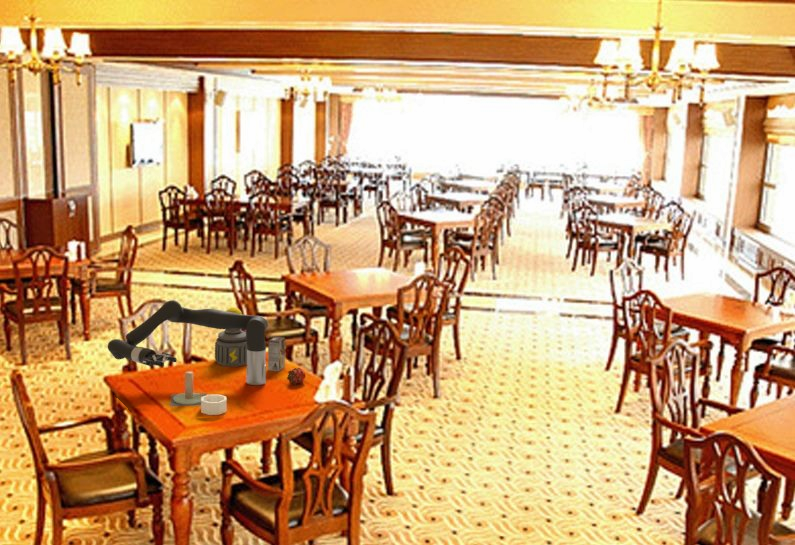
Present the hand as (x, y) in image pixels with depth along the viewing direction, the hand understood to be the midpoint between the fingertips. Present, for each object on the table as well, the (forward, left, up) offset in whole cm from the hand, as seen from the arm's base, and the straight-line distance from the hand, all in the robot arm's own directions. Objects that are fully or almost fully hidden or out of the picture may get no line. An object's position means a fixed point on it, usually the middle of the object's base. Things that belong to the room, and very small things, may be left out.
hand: (169, 362), depth 399 cm
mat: (-9, +7, -16) cm, 20 cm away
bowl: (-20, +22, -16) cm, 34 cm away
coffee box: (-53, -39, -17) cm, 67 cm away
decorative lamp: (-31, -52, -17) cm, 62 cm away
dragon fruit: (-61, -15, -17) cm, 65 cm away
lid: (-9, +7, -16) cm, 20 cm away
